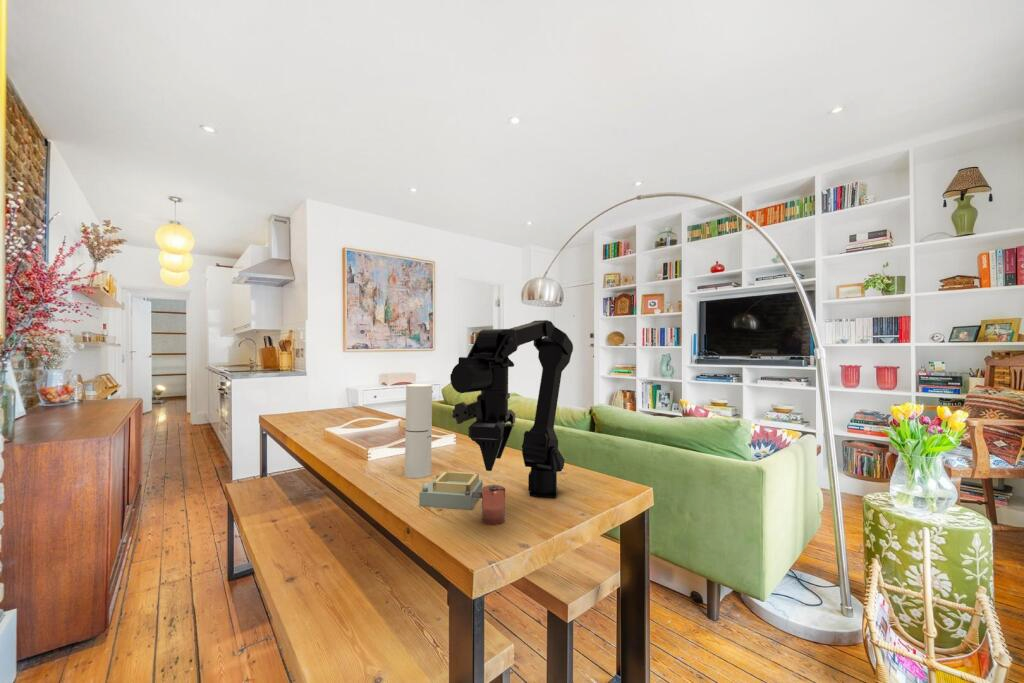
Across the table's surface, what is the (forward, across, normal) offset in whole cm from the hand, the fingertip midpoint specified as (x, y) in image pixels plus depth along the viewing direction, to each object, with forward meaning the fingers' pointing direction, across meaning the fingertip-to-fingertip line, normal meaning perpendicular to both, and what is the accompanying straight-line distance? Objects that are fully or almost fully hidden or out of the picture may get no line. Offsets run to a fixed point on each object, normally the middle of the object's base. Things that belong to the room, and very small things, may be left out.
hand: (493, 464), depth 85 cm
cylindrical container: (+12, -26, -27) cm, 39 cm away
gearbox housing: (+12, -10, -12) cm, 19 cm away
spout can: (+12, 0, -1) cm, 12 cm away
